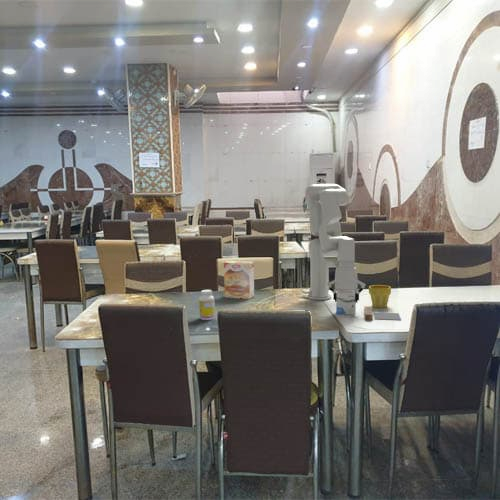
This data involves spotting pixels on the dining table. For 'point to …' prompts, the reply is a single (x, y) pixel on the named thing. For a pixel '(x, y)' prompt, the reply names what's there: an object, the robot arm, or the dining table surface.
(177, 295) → the dining table surface
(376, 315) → the mat
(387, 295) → the plant pot
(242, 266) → the coffeecake box
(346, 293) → the ink box
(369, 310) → the rail
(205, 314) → the supplement bottle
